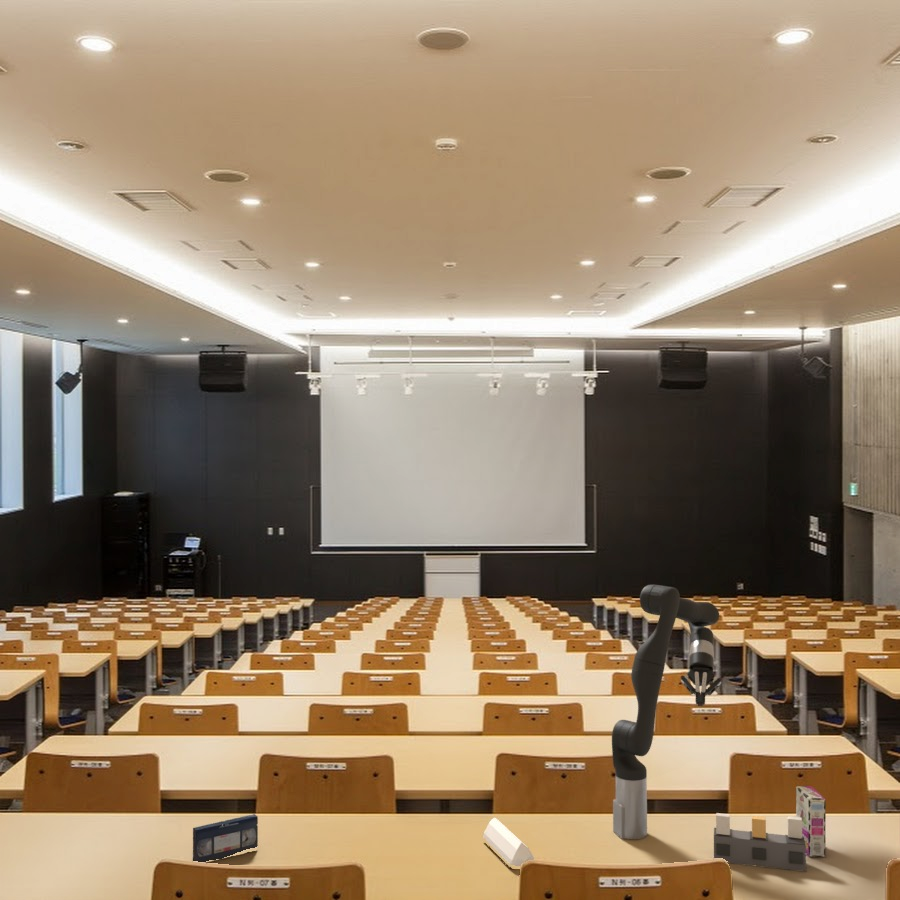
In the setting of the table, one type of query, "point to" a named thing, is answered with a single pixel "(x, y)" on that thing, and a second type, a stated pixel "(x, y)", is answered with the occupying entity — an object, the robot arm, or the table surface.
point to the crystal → (507, 843)
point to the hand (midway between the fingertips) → (700, 704)
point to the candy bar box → (812, 819)
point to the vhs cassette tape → (224, 838)
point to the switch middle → (759, 827)
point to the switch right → (795, 827)
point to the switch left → (723, 824)
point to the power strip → (761, 850)
